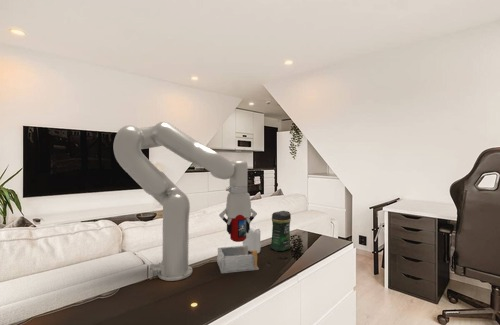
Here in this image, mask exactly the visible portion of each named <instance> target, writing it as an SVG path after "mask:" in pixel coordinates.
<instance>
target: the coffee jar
mask: <svg viewBox="0 0 500 325" xmlns="http://www.w3.org/2000/svg"><path fill="white" fill-rule="evenodd" d="M291 215H292V214H291V213H290V211H288V210H287V211H286V210H280V211H275V212H273V213H272V214H271V222H272V228H271V230H272V231H271V242H270V248H271V249H272V250H274V251H276V252H284V251H286V250H289V249H290V248H291V233H290V232H291V229H290V228H291V221H292V220H291Z"/></svg>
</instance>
